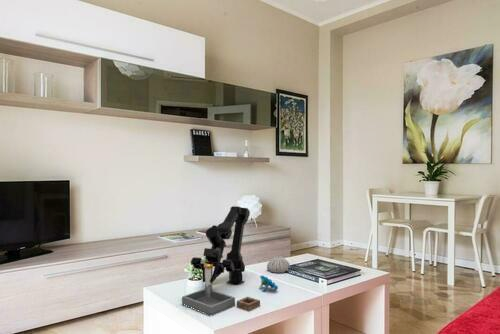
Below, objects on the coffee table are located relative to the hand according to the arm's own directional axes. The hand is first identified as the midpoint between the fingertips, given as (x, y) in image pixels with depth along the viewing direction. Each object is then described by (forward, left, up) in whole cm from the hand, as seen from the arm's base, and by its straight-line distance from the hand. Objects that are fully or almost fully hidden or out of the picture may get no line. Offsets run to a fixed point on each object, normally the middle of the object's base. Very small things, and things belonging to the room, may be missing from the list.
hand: (207, 282), depth 151 cm
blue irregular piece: (+7, +33, -11) cm, 36 cm away
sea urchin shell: (-8, +63, -11) cm, 65 cm away
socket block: (+14, +11, -10) cm, 20 cm away
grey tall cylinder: (-1, +1, -7) cm, 7 cm away
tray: (0, +1, -10) cm, 10 cm away
